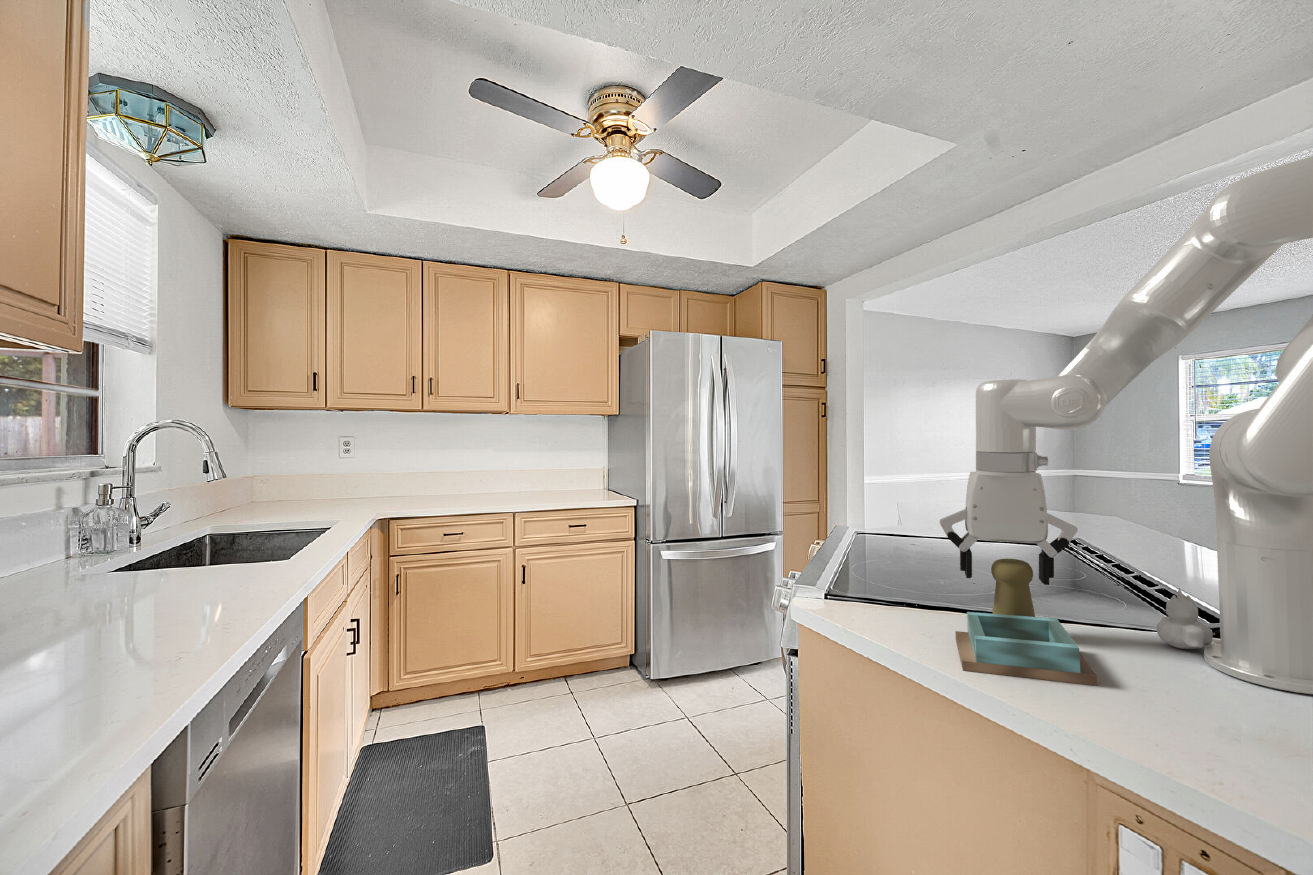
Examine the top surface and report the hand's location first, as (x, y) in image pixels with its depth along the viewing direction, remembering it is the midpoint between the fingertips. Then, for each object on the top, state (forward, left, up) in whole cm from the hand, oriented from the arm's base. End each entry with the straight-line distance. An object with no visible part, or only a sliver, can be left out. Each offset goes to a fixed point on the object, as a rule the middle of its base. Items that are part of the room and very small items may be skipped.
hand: (1005, 578), depth 83 cm
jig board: (0, +10, -8) cm, 13 cm away
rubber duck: (-20, 0, -8) cm, 22 cm away
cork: (-1, 0, -8) cm, 8 cm away
